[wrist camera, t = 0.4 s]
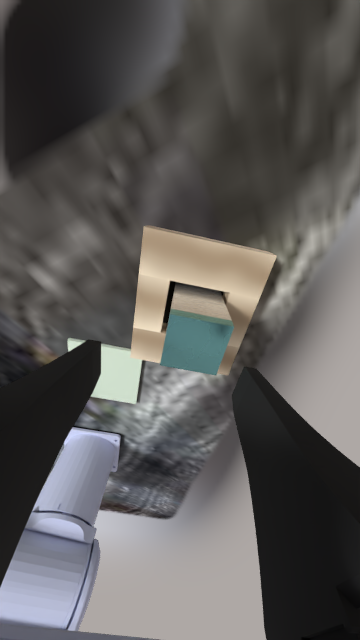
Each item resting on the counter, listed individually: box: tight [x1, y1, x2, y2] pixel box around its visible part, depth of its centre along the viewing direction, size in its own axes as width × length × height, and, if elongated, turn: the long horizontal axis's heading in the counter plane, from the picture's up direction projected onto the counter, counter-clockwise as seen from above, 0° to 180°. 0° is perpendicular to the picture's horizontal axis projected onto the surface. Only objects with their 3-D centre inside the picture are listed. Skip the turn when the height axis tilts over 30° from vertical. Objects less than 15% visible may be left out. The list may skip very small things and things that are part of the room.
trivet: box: [68, 338, 142, 404], centre depth 23 cm, size 8×8×1 cm
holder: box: [130, 225, 277, 375], centre depth 18 cm, size 12×10×2 cm
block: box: [160, 282, 234, 375], centre depth 16 cm, size 4×4×7 cm
